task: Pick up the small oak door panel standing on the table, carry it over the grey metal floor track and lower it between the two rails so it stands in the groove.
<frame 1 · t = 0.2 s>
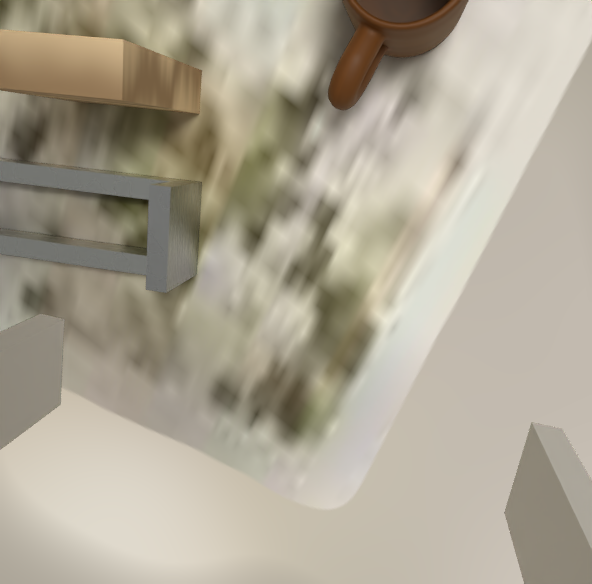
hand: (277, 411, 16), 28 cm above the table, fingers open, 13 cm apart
mug: (389, 32, 38), on the table
track: (74, 212, 45), on the table
door panel: (136, 86, 42), on the table
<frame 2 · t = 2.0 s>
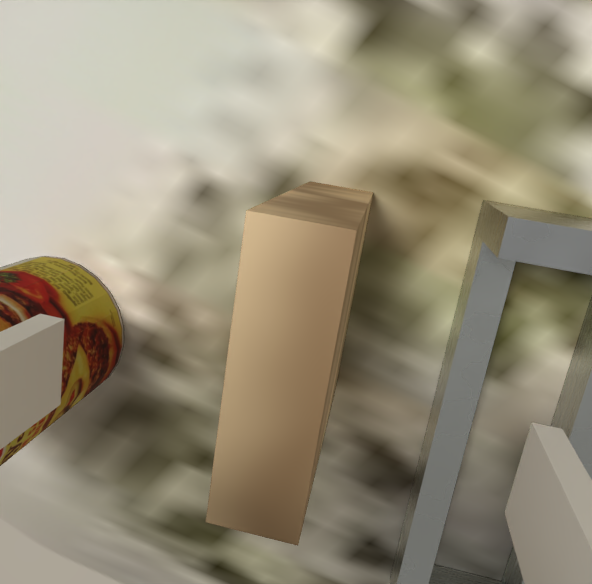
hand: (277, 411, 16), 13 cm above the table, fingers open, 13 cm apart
canned food: (59, 325, 31), on the table
track: (504, 423, 28), on the table
door panel: (323, 288, 28), on the table
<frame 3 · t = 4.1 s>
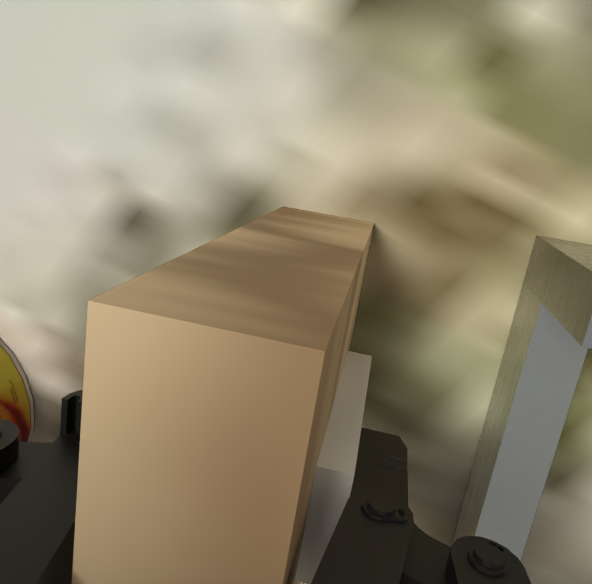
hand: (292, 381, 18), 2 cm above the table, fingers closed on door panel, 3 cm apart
track: (561, 550, 20), on the table
door panel: (303, 357, 20), on the table, touching gripper
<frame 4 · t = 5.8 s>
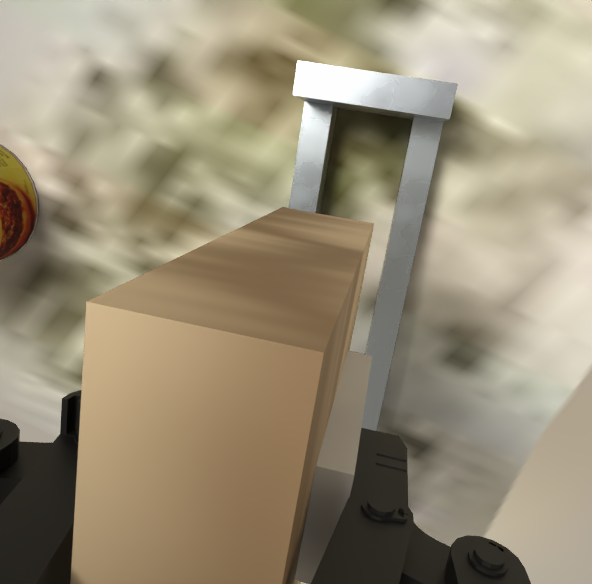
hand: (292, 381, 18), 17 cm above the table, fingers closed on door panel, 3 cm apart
track: (346, 269, 34), on the table
door panel: (303, 357, 20), point 15 cm above the table, touching gripper
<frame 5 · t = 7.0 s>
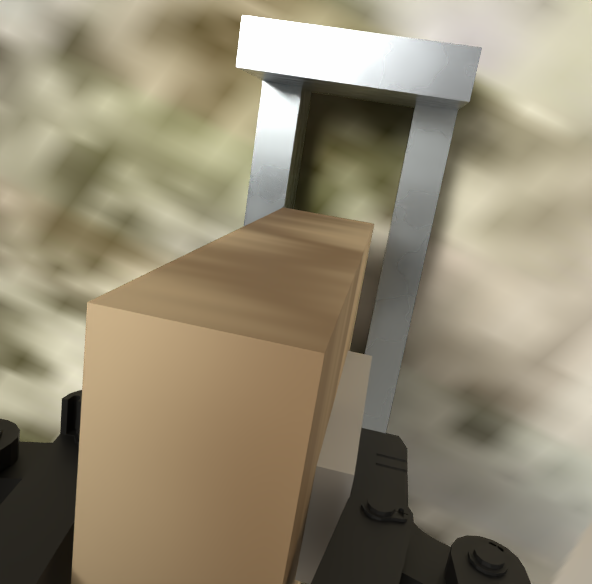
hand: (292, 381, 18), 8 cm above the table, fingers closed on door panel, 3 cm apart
track: (325, 309, 25), on the table
door panel: (303, 357, 20), point 6 cm above the table, touching gripper
when the fingers open (5 cm above the table, at t = 7.7 s): door panel drops 3 cm, resting in track.
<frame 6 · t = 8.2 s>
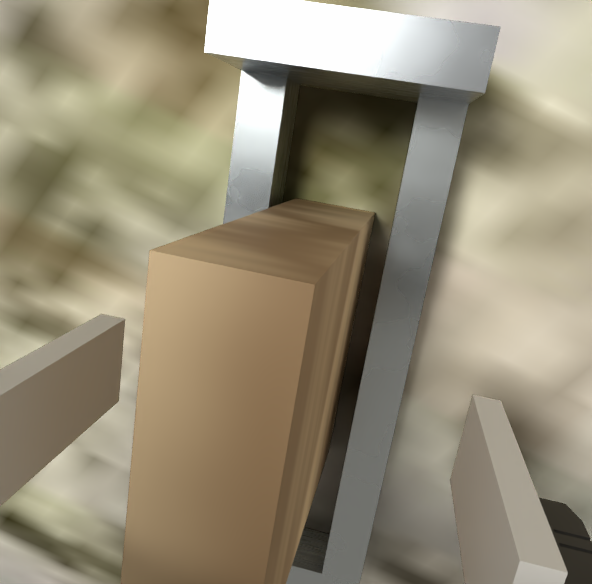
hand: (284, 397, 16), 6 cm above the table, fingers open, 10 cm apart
track: (316, 331, 22), on the table
door panel: (313, 330, 22), resting in track
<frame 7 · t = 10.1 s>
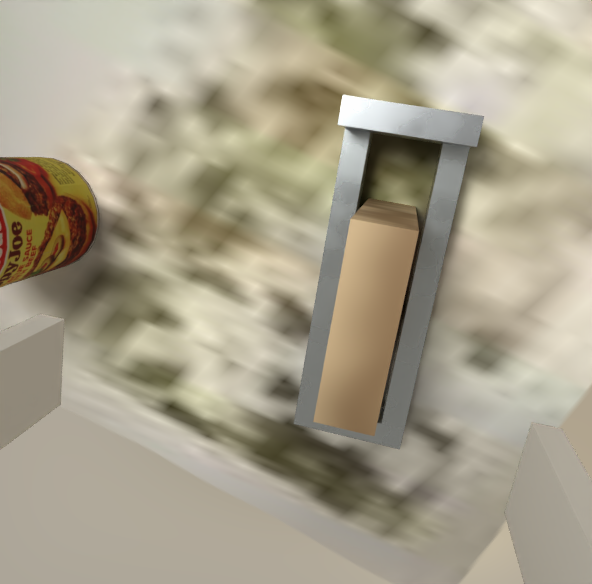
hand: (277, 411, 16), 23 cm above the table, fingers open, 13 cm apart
canned food: (51, 212, 41), on the table
track: (378, 278, 37), on the table
door panel: (376, 277, 37), resting in track
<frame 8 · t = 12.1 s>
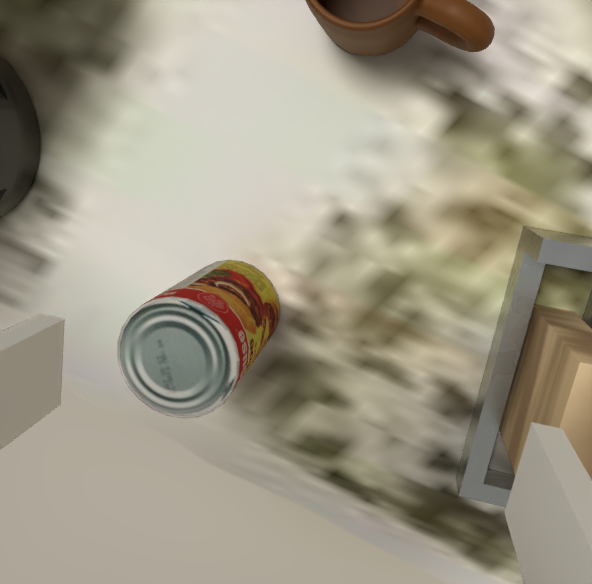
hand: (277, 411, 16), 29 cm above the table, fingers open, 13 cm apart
mug: (400, 16, 39), on the table
canned food: (233, 306, 46), on the table
track: (535, 370, 43), on the table
door panel: (534, 369, 43), resting in track
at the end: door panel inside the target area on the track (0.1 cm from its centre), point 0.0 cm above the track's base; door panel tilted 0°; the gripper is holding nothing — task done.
